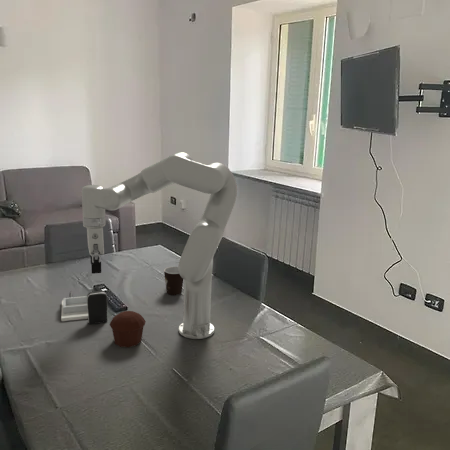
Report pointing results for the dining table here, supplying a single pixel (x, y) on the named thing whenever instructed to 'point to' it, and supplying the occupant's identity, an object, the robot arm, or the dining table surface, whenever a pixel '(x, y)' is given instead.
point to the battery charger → (97, 307)
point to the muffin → (127, 328)
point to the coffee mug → (173, 281)
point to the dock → (74, 308)
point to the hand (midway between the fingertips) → (95, 268)
